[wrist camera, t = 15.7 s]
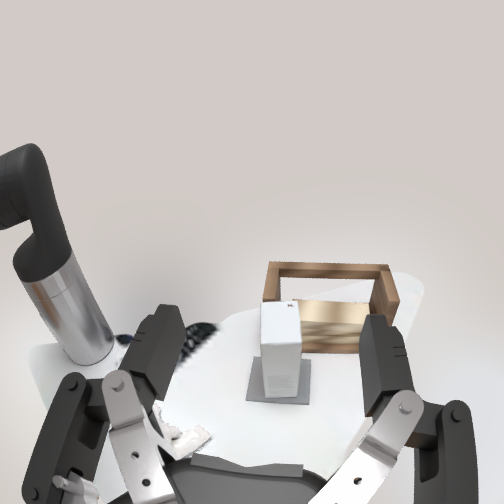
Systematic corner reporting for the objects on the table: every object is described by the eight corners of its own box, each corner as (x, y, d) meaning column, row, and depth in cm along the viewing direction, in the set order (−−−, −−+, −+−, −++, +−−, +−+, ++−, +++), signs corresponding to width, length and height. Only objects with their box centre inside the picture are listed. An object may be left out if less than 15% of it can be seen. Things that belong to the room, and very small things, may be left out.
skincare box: (264, 362, 39) (259, 300, 32) (295, 360, 38) (299, 298, 32) (264, 399, 34) (259, 344, 27) (297, 398, 33) (304, 342, 27)
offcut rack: (265, 350, 41) (262, 298, 35) (271, 313, 47) (269, 261, 41) (380, 352, 38) (400, 301, 32) (374, 316, 44) (388, 264, 38)
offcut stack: (283, 344, 40) (283, 322, 38) (285, 319, 44) (286, 296, 42) (365, 346, 38) (373, 324, 36) (362, 320, 42) (368, 298, 40)
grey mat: (246, 400, 34) (245, 399, 34) (254, 358, 40) (253, 356, 40) (308, 404, 33) (309, 403, 33) (310, 361, 38) (310, 359, 38)
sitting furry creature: (215, 433, 30) (191, 388, 24) (183, 489, 24) (143, 465, 17) (153, 405, 34) (116, 353, 27) (120, 453, 27) (69, 412, 20)
